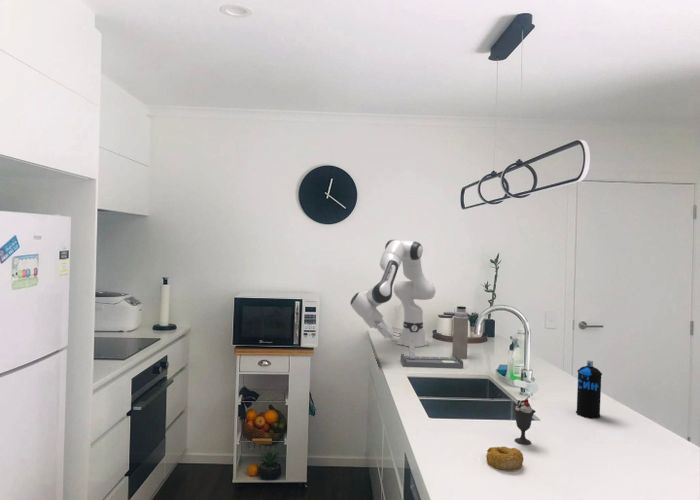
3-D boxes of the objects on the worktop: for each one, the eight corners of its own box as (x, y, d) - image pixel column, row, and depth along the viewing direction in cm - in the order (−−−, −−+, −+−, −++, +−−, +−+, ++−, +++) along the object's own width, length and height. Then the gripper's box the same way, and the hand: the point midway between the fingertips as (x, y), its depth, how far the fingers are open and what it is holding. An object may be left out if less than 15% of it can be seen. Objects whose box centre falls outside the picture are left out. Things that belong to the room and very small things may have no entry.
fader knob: (409, 357, 248) (409, 339, 248) (413, 357, 248) (414, 339, 248) (409, 358, 245) (410, 340, 245) (414, 358, 245) (415, 340, 245)
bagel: (513, 455, 140) (514, 439, 140) (529, 473, 129) (530, 456, 129) (480, 455, 140) (480, 439, 140) (493, 474, 129) (493, 456, 129)
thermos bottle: (451, 355, 270) (453, 305, 269) (465, 356, 269) (467, 306, 269) (453, 358, 262) (454, 307, 261) (468, 359, 261) (469, 307, 261)
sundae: (532, 448, 146) (533, 398, 145) (509, 442, 149) (511, 394, 149) (536, 440, 151) (538, 393, 151) (514, 435, 155) (516, 389, 155)
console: (400, 360, 253) (400, 353, 253) (457, 362, 253) (457, 355, 253) (403, 366, 240) (403, 359, 240) (463, 368, 240) (463, 361, 240)
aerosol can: (580, 409, 183) (582, 357, 183) (603, 415, 177) (605, 361, 177) (572, 414, 177) (574, 360, 177) (596, 420, 172) (598, 364, 171)
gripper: (380, 318, 236) (399, 339, 236) (378, 312, 256) (395, 331, 256) (371, 327, 236) (390, 347, 236) (369, 321, 256) (387, 339, 256)
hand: (393, 339), depth 246 cm, fingers closed
